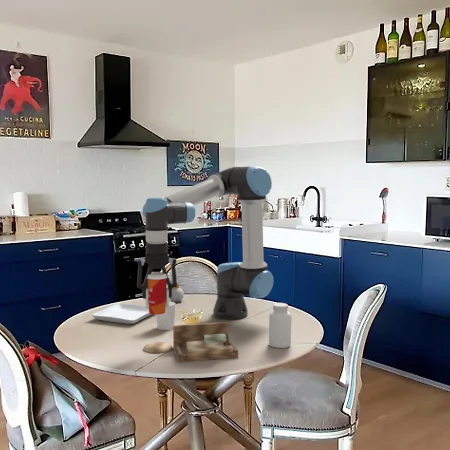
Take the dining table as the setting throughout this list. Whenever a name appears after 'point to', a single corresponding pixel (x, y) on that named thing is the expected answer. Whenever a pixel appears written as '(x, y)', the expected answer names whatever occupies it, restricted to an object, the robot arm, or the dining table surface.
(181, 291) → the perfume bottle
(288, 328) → the pill bottle
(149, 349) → the mat
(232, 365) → the dining table surface
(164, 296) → the paper cup
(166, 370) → the dining table surface
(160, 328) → the white cup
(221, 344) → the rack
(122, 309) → the salad plate
